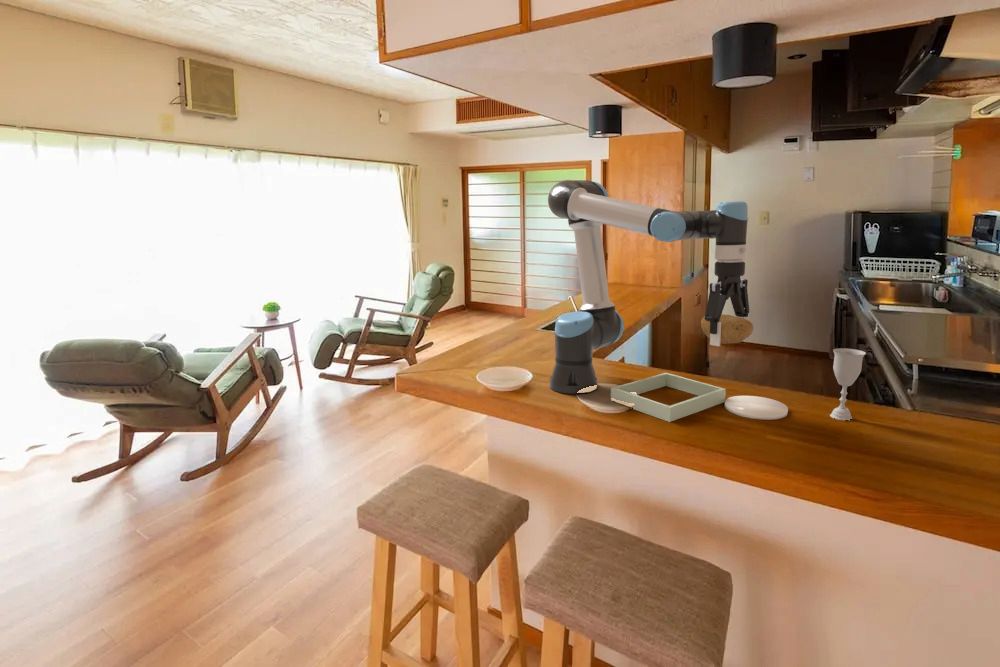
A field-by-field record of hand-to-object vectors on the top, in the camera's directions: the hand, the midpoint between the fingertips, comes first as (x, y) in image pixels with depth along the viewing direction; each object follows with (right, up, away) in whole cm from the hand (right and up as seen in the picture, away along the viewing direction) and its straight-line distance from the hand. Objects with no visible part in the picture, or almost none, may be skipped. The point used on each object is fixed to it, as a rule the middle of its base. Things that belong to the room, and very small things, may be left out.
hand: (726, 342), depth 151 cm
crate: (-13, -17, +9) cm, 24 cm away
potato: (0, 0, 0) cm, 0 cm away
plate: (+9, -19, +2) cm, 21 cm away
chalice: (+29, -20, -5) cm, 35 cm away
